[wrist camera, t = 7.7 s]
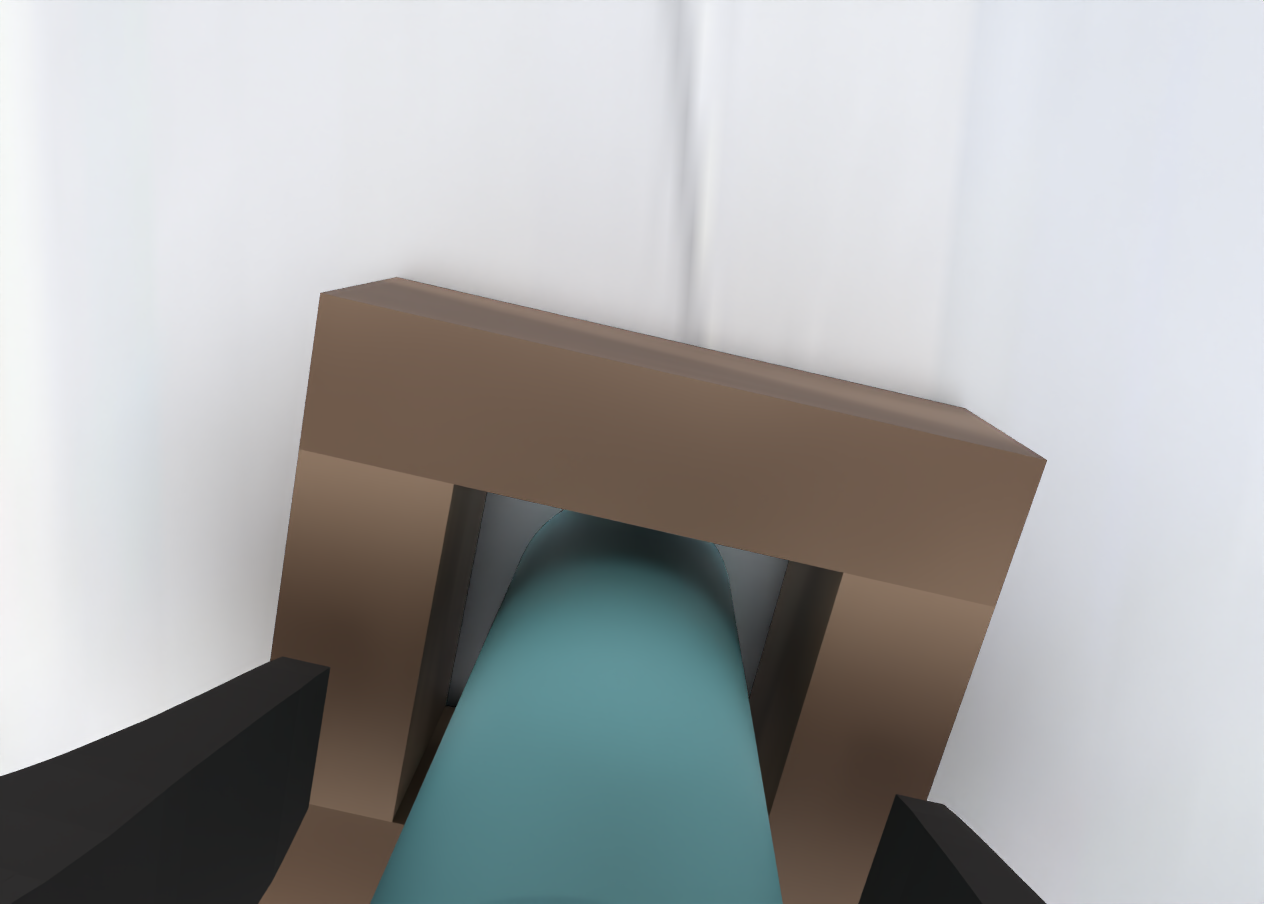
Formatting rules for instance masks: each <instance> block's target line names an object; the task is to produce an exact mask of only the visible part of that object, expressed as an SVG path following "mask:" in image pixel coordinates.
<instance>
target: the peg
mask: <svg viewBox="0 0 1264 904" xmlns="http://www.w3.org/2000/svg"><path fill="white" fill-rule="evenodd" d="M370 904H783V901H782V895H781V889H780V883H779V877H778V871H777V865H776V859H775V853H774V848H773V842H772V836H771V830H770V824H769V818H768V812H767V806H766V800H765V794H764V788H763V782H762V776H761V770H760V764H759V758H758V752H757V746H756V740H755V734H754V728H753V722H752V716H751V710H750V704H749V698H748V692H747V686H746V680H745V674H744V668H743V662H742V656H741V650H740V644H739V638H738V632H737V626H736V620H735V614H734V608H733V602H732V596H731V590H730V584H729V579H728V574H727V571H726V568H725V564H724V561H723V559H722V557H721V555H720V553H719V551H718V549H717V548H716V546H715V545H714V543H710V542H706V541H702V540H697V539H693V538H688V537H684V536H680V535H675V534H671V533H666V532H662V531H658V530H653V529H649V528H644V527H640V526H636V525H631V524H627V523H622V522H618V521H614V520H609V519H605V518H600V517H596V516H591V515H587V514H583V513H578V512H574V511H569V510H563V511H562V512H560V513H558V514H557V515H555V516H554V517H553V518H552V519H550V520H549V521H548V522H547V523H546V524H544V526H543V527H542V528H541V529H540V530H539V531H538V532H537V533H536V534H535V536H534V537H533V539H532V540H531V541H530V543H529V544H528V546H527V548H526V550H525V552H524V554H523V556H522V558H521V560H520V562H519V565H518V567H517V569H516V571H515V574H514V576H513V578H512V581H511V583H510V585H509V587H508V590H507V592H506V594H505V597H504V599H503V601H502V603H501V606H500V608H499V610H498V613H497V615H496V617H495V619H494V622H493V624H492V626H491V629H490V631H489V633H488V635H487V638H486V640H485V642H484V645H483V647H482V649H481V651H480V654H479V656H478V658H477V660H476V663H475V665H474V667H473V670H472V672H471V674H470V676H469V679H468V681H467V683H466V686H465V688H464V690H463V692H462V695H461V697H460V699H459V702H458V704H457V706H456V708H455V711H454V713H453V715H452V718H451V720H450V722H449V724H448V727H447V729H446V731H445V734H444V736H443V738H442V740H441V743H440V745H439V747H438V749H437V752H436V754H435V756H434V759H433V761H432V763H431V765H430V768H429V770H428V772H427V775H426V777H425V779H424V781H423V784H422V786H421V788H420V791H419V793H418V795H417V797H416V800H415V802H414V804H413V807H412V809H411V811H410V813H409V816H408V818H407V820H406V823H405V825H404V827H403V829H402V832H401V834H400V836H399V839H398V841H397V843H396V845H395V848H394V850H393V852H392V854H391V857H390V859H389V861H388V864H387V866H386V868H385V870H384V873H383V875H382V877H381V880H380V882H379V884H378V886H377V889H376V891H375V893H374V896H373V898H372V900H371V902H370Z"/></svg>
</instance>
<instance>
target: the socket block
mask: <svg viewBox="0 0 1264 904" xmlns="http://www.w3.org/2000/svg"><path fill="white" fill-rule="evenodd" d="M1046 462H1047V460H1046V459H1044V458H1043V457H1041V456H1040V455H1038V454H1036V453H1035V452H1033V451H1032V450H1030V449H1029V448H1027V447H1025V446H1024V445H1022V444H1021V443H1019V442H1017V441H1016V440H1014V439H1013V438H1011V437H1010V436H1008V435H1006V434H1005V433H1003V432H1002V431H1000V430H998V429H997V428H995V427H994V426H992V425H991V424H989V423H987V422H986V421H984V420H983V419H981V418H979V417H978V416H976V415H975V414H973V413H972V412H970V411H968V410H967V409H965V408H961V407H957V406H952V405H948V404H944V403H939V402H935V401H931V400H926V399H922V398H918V397H913V396H909V395H905V394H900V393H896V392H892V391H887V390H883V389H879V388H874V387H870V386H866V385H861V384H857V383H853V382H848V381H844V380H840V379H835V378H831V377H827V376H822V375H818V374H814V373H809V372H805V371H801V370H796V369H792V368H788V367H783V366H779V365H775V364H770V363H766V362H762V361H757V360H753V359H749V358H744V357H740V356H736V355H731V354H727V353H723V352H718V351H714V350H710V349H705V348H701V347H697V346H692V345H688V344H684V343H679V342H675V341H671V340H666V339H662V338H658V337H653V336H649V335H645V334H640V333H636V332H632V331H627V330H623V329H619V328H614V327H610V326H606V325H601V324H597V323H593V322H588V321H584V320H580V319H575V318H571V317H567V316H562V315H558V314H554V313H549V312H545V311H541V310H536V309H532V308H528V307H523V306H519V305H515V304H510V303H506V302H502V301H497V300H493V299H489V298H484V297H480V296H476V295H471V294H467V293H463V292H458V291H454V290H450V289H445V288H441V287H437V286H432V285H428V284H424V283H419V282H415V281H411V280H406V279H402V278H398V277H395V278H391V279H386V280H381V281H376V282H371V283H366V284H362V285H357V286H352V287H347V288H342V289H337V290H333V291H328V292H323V293H320V299H319V307H318V314H317V321H316V329H315V336H314V343H313V351H312V358H311V365H310V373H309V380H308V387H307V395H306V402H305V409H304V417H303V424H302V431H301V439H300V446H299V453H298V461H297V468H296V475H295V483H294V490H293V497H292V505H291V512H290V519H289V527H288V534H287V541H286V549H285V556H284V563H283V571H282V578H281V585H280V593H279V600H278V607H277V615H276V622H275V629H274V637H273V644H272V651H271V659H270V661H272V660H275V659H277V658H280V657H282V656H283V657H288V658H292V659H296V660H301V661H305V662H310V663H314V664H319V665H323V666H328V667H330V673H329V680H328V686H327V693H326V699H325V705H324V712H323V718H322V725H321V731H320V738H319V744H318V750H317V757H316V763H315V770H314V776H313V783H312V789H311V795H310V802H309V808H308V810H307V812H306V814H305V816H304V818H303V821H302V823H301V825H300V827H299V829H298V831H297V833H296V835H295V837H294V839H293V841H292V843H291V845H290V847H289V850H288V851H287V853H286V855H285V857H284V859H283V861H282V863H281V865H280V867H279V869H278V871H277V873H276V875H275V877H274V879H273V881H272V883H271V884H270V886H269V887H268V889H267V891H266V892H265V894H264V895H263V897H262V898H261V900H260V902H259V903H258V904H370V902H371V900H372V898H373V896H374V893H375V891H376V889H377V886H378V884H379V882H380V880H381V877H382V875H383V873H384V870H385V868H386V866H387V864H388V861H389V859H390V857H391V854H392V852H393V850H394V848H395V845H396V843H397V841H398V839H399V836H400V834H401V832H402V829H403V827H404V825H405V823H406V820H407V818H408V816H409V813H410V811H411V809H412V807H413V804H414V802H415V800H416V797H417V795H418V793H419V791H420V788H421V786H422V784H423V781H424V779H425V777H426V775H427V772H428V770H429V768H430V765H431V763H432V761H433V759H434V756H435V754H436V752H437V749H438V747H439V745H440V743H441V740H442V738H443V736H444V734H445V731H446V729H447V727H448V724H449V722H450V720H451V718H452V715H453V713H454V711H455V707H450V706H446V701H447V696H448V691H449V686H450V681H451V675H452V670H453V665H454V660H455V655H456V649H457V644H458V639H459V634H460V629H461V624H462V618H463V613H464V608H465V603H466V598H467V593H468V587H469V582H470V577H471V572H472V567H473V562H474V556H475V551H476V546H477V541H478V536H479V530H480V525H481V520H482V515H483V510H484V505H485V499H486V494H487V492H490V493H495V494H499V495H503V496H508V497H512V498H517V499H521V500H525V501H530V502H534V503H539V504H543V505H547V506H552V507H556V508H561V509H565V510H569V511H574V512H578V513H583V514H587V515H591V516H596V517H600V518H605V519H609V520H614V521H618V522H622V523H627V524H631V525H636V526H640V527H644V528H649V529H653V530H658V531H662V532H666V533H671V534H675V535H680V536H684V537H688V538H693V539H697V540H702V541H706V542H710V543H715V544H719V545H724V546H728V547H732V548H737V549H741V550H746V551H750V552H754V553H759V554H763V555H768V556H772V557H777V558H781V559H785V560H789V563H788V566H787V570H786V573H785V577H784V580H783V583H782V587H781V590H780V594H779V597H778V601H777V604H776V608H775V611H774V615H773V618H772V622H771V625H770V629H769V632H768V636H767V639H766V643H765V646H764V650H763V653H762V656H761V660H760V663H759V667H758V670H757V674H756V677H755V681H754V684H753V688H752V691H751V695H750V698H749V704H750V710H751V716H752V722H753V728H754V734H755V740H756V746H757V752H758V758H759V764H760V770H761V776H762V782H763V788H764V794H765V800H766V806H767V812H768V818H769V824H770V830H771V836H772V842H773V848H774V853H775V859H776V865H777V871H778V877H779V883H780V889H781V895H782V901H783V904H858V903H859V900H860V897H861V894H862V891H863V888H864V886H865V883H866V880H867V877H868V874H869V871H870V868H871V865H872V862H873V859H874V856H875V853H876V851H877V848H878V845H879V842H880V839H881V836H882V833H883V830H884V827H885V824H886V821H887V818H888V816H889V813H890V810H891V807H892V804H893V801H894V798H895V795H896V794H898V795H903V796H907V797H912V798H916V799H921V800H925V801H926V800H927V798H928V795H929V792H930V789H931V786H932V784H933V781H934V778H935V775H936V772H937V769H938V767H939V764H940V761H941V758H942V755H943V752H944V750H945V747H946V744H947V741H948V738H949V736H950V733H951V730H952V727H953V724H954V721H955V719H956V716H957V713H958V710H959V707H960V705H961V702H962V699H963V696H964V693H965V690H966V688H967V685H968V682H969V679H970V676H971V673H972V671H973V668H974V665H975V662H976V659H977V657H978V654H979V651H980V648H981V645H982V642H983V640H984V637H985V634H986V631H987V628H988V626H989V623H990V620H991V617H992V614H993V611H994V609H995V606H996V603H997V600H998V597H999V595H1000V592H1001V589H1002V586H1003V583H1004V580H1005V578H1006V575H1007V572H1008V569H1009V566H1010V563H1011V561H1012V558H1013V555H1014V552H1015V549H1016V547H1017V544H1018V541H1019V538H1020V535H1021V532H1022V530H1023V527H1024V524H1025V521H1026V518H1027V516H1028V513H1029V510H1030V507H1031V504H1032V501H1033V499H1034V496H1035V493H1036V490H1037V487H1038V484H1039V482H1040V479H1041V476H1042V473H1043V470H1044V468H1045V465H1046Z"/></svg>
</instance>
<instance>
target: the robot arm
mask: <svg viewBox="0 0 1264 904" xmlns="http://www.w3.org/2000/svg"><path fill="white" fill-rule="evenodd" d="M329 673H330V667H328V666H323V665H319V664H314V663H310V662H305V661H301V660H296V659H292V658H288V657H283V656H282V657H280V658H277V659H275V660H272V661H270V662H268V663H265V664H263V665H261V666H259V667H257V668H255V669H253V670H250V671H248V672H246V673H244V674H242V675H240V676H238V677H236V678H234V679H232V680H230V681H228V682H226V683H224V684H222V685H219V686H217V687H215V688H213V689H211V690H209V691H207V692H205V693H203V694H201V695H199V696H196V697H194V698H192V699H190V700H188V701H186V702H184V703H181V704H179V705H177V706H175V707H173V708H171V709H169V710H166V711H164V712H162V713H160V714H158V715H156V716H154V717H151V718H149V719H147V720H145V721H142V722H140V723H137V724H135V725H133V726H130V727H128V728H125V729H123V730H121V731H118V732H116V733H113V734H111V735H109V736H106V737H104V738H101V739H99V740H97V741H94V742H92V743H89V744H87V745H84V746H82V747H80V748H77V749H75V750H72V751H70V752H68V753H65V754H62V755H60V756H57V757H54V758H52V759H49V760H46V761H44V762H41V763H38V764H35V765H32V766H30V767H27V768H24V769H21V770H18V771H16V772H12V773H9V774H6V775H3V776H0V904H258V903H259V902H260V900H261V898H262V897H263V895H264V894H265V892H266V891H267V889H268V887H269V886H270V884H271V883H272V881H273V879H274V877H275V875H276V873H277V871H278V869H279V867H280V865H281V863H282V861H283V859H284V857H285V855H286V853H287V851H288V850H289V847H290V845H291V843H292V841H293V839H294V837H295V835H296V833H297V831H298V829H299V827H300V825H301V823H302V821H303V818H304V816H305V814H306V812H307V810H308V808H309V802H310V795H311V789H312V783H313V776H314V770H315V763H316V757H317V750H318V744H319V738H320V731H321V725H322V718H323V712H324V705H325V699H326V693H327V686H328V680H329ZM858 904H1046V903H1045V902H1044V901H1043V900H1042V899H1041V898H1040V897H1039V896H1038V895H1037V894H1036V893H1035V892H1034V891H1033V890H1032V889H1031V888H1030V887H1029V886H1028V885H1027V884H1026V883H1025V882H1024V881H1023V880H1022V879H1021V878H1020V877H1019V876H1018V875H1017V874H1016V873H1015V872H1014V871H1013V870H1012V869H1011V868H1010V867H1009V866H1008V865H1007V864H1006V863H1005V862H1004V861H1003V860H1002V859H1001V858H1000V857H999V856H998V855H997V854H996V853H995V852H994V851H993V850H992V849H991V848H990V847H989V846H988V845H987V844H986V843H985V842H984V841H983V840H982V839H981V838H980V837H979V836H978V835H977V834H976V833H975V832H974V831H973V830H972V829H971V828H969V827H968V826H967V825H966V824H965V823H964V822H963V821H962V820H961V819H960V818H959V817H958V816H956V815H955V814H954V813H953V812H952V811H951V810H949V809H948V808H947V807H946V806H945V805H943V804H939V803H934V802H930V801H925V800H921V799H916V798H912V797H907V796H903V795H898V794H896V795H895V798H894V801H893V804H892V807H891V810H890V813H889V816H888V818H887V821H886V824H885V827H884V830H883V833H882V836H881V839H880V842H879V845H878V848H877V851H876V853H875V856H874V859H873V862H872V865H871V868H870V871H869V874H868V877H867V880H866V883H865V886H864V888H863V891H862V894H861V897H860V900H859V903H858Z"/></svg>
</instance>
